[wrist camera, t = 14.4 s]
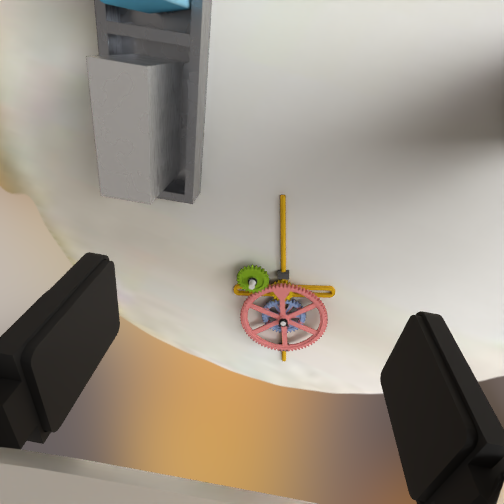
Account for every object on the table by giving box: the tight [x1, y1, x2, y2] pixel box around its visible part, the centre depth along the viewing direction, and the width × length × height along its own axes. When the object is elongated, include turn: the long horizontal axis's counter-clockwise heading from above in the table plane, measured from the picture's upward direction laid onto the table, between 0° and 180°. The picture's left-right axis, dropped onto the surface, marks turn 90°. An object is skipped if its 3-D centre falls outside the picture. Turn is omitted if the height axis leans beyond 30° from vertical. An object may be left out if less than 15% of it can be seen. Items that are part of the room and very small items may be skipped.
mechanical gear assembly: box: [233, 195, 335, 361], centre depth 49 cm, size 30×4×15 cm
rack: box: [86, 0, 212, 204], centre depth 30 cm, size 11×33×11 cm, turn 172°
